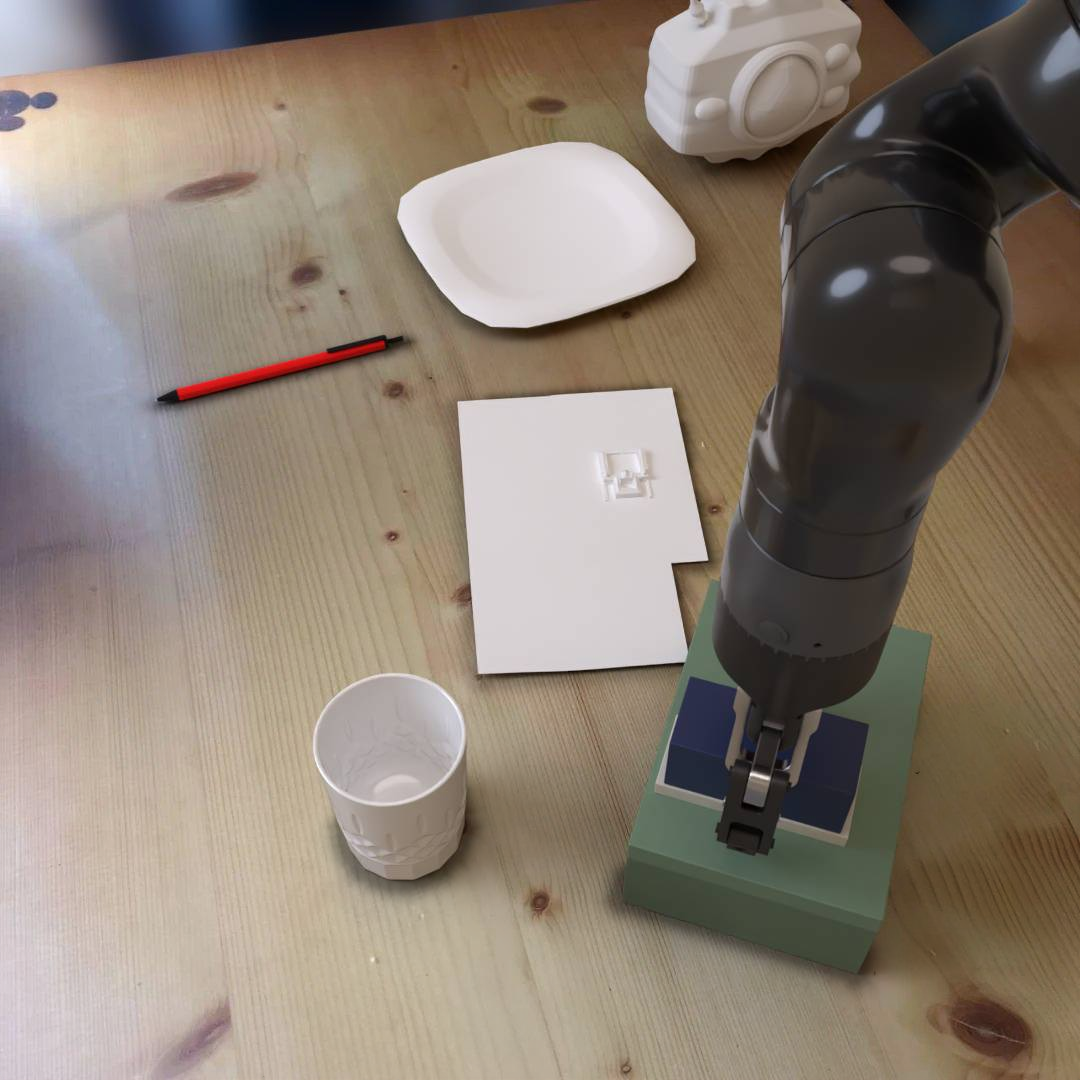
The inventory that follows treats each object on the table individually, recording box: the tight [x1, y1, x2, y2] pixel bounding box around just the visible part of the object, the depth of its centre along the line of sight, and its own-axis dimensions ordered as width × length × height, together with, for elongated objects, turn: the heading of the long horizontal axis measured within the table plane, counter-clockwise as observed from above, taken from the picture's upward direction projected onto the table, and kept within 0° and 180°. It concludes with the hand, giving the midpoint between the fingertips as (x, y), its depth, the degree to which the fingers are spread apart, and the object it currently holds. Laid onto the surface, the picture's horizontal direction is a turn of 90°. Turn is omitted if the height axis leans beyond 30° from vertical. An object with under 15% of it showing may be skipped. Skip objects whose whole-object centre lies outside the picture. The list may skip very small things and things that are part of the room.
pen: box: [154, 334, 404, 403], centre depth 98 cm, size 1×19×1 cm, turn 111°
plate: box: [396, 141, 697, 330], centre depth 108 cm, size 22×22×2 cm
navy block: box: [654, 676, 869, 847], centre depth 67 cm, size 10×4×5 cm, turn 72°
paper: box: [457, 387, 709, 675], centre depth 88 cm, size 25×17×1 cm
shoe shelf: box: [621, 578, 933, 975], centre depth 73 cm, size 13×18×7 cm
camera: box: [643, 0, 862, 164], centre depth 110 cm, size 11×18×16 cm, turn 114°
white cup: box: [312, 672, 468, 881], centre depth 71 cm, size 8×8×10 cm
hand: (760, 770), depth 67 cm, fingers open, 8 cm apart
